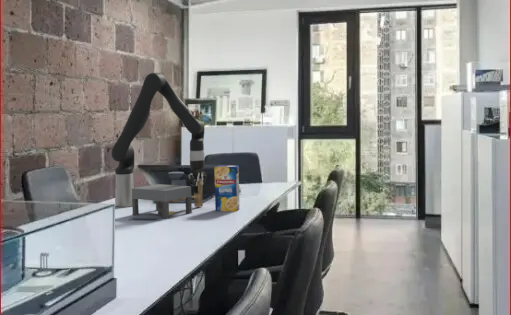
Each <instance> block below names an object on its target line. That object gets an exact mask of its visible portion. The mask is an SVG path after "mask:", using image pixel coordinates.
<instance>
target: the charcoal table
mask: <svg viewBox="0 0 511 315" xmlns="http://www.w3.org/2000/svg"><path fill="white" fill-rule="evenodd" d="M191 196H192V185H190V186H189V185H188V186H187V185H176V184H175V185H174V184H160V183H157V184H151V185H150V184H149V185H144V186H143V185H142V186H138V187H134V188H132V206H131V207H132V208H131V209H132V216H139V213H140V212H139V211H140V210H139V200H143V201H153V202H154V201H155V210H156V211H158V202H163V215H162V219H165V220H166V219H167V220H168V219H170V215H169V211H170V203H169V201H172V200H177V199H182V198H186V200H185V213H186V214H192V213H193V211H192V210H193V208H192V207H193V205H192V204H193V203H192V199H191Z"/></svg>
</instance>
